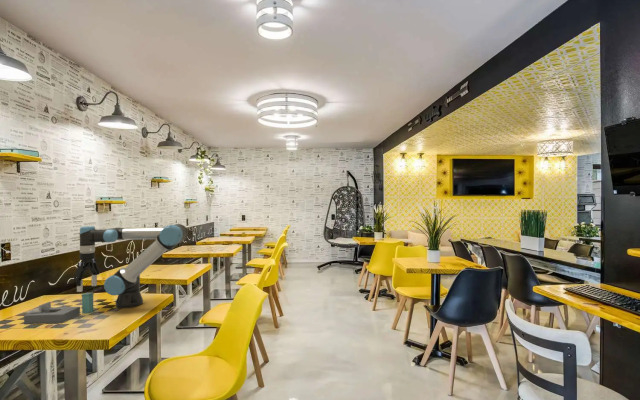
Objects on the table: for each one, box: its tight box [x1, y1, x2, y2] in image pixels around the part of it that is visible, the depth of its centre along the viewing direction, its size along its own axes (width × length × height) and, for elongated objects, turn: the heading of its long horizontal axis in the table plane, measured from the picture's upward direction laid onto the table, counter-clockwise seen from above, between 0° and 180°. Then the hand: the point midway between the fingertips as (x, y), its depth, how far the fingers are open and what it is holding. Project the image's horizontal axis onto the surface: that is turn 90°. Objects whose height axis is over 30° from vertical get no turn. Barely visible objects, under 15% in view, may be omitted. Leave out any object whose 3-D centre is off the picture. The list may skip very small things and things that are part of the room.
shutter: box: [26, 301, 52, 314], centre depth 190 cm, size 8×8×4 cm
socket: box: [23, 306, 81, 325], centre depth 190 cm, size 20×14×4 cm
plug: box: [81, 292, 95, 314], centre depth 202 cm, size 4×4×11 cm
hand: (87, 288), depth 202 cm, fingers open, 13 cm apart
